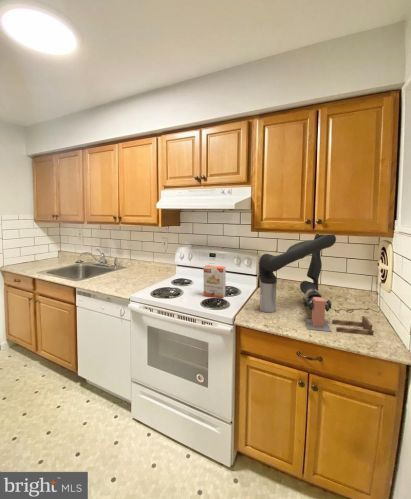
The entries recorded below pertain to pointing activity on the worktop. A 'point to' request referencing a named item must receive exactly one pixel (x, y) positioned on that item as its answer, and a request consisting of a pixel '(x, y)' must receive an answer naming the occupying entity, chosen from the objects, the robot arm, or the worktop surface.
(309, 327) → the mat
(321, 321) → the red block
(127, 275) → the worktop surface
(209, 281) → the cracker box
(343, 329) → the frame
